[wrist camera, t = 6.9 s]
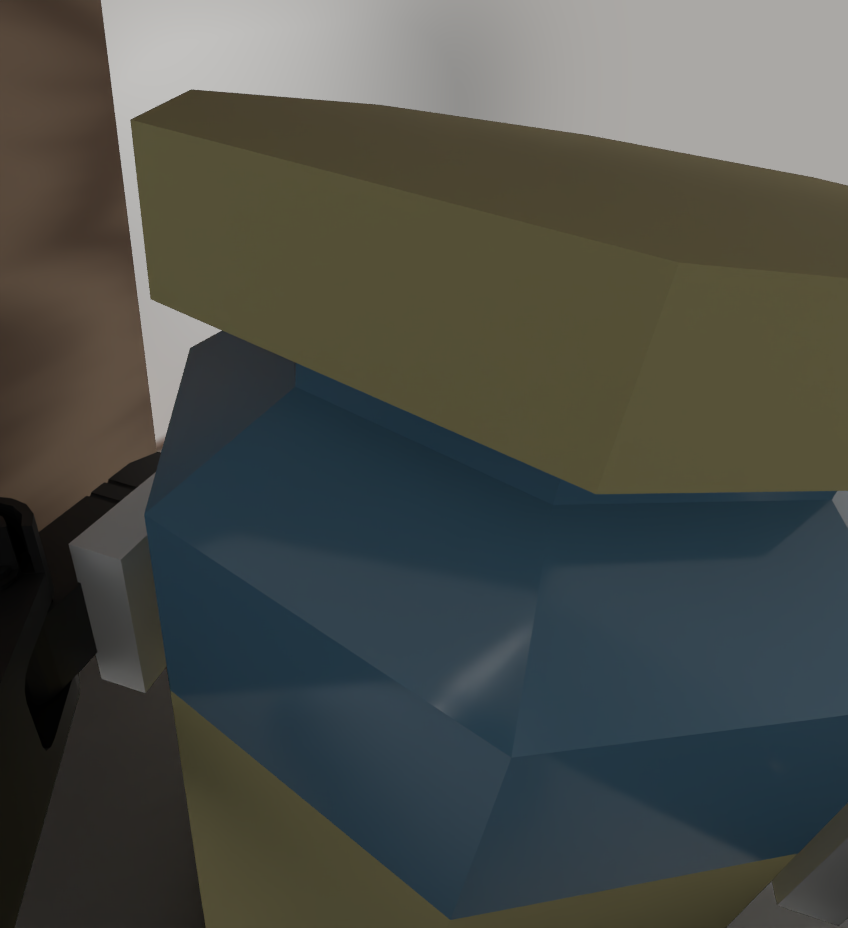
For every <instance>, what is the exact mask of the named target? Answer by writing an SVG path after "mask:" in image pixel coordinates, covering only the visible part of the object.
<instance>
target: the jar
mask: <svg viewBox="0 0 848 928" xmlns="http://www.w3.org/2000/svg"><path fill="white" fill-rule="evenodd" d="M131 128H132V138H133V147H134V156H135V164H136V173H137V182H138V191H139V199H140V208H141V217H142V226H143V234H144V244H145V253H146V261H147V270H148V279H149V288H150V297H151V299H152V300H154V301H156V302H158V303H161V304H163V305H165V306H168V307H170V308H172V309H175V310H177V311H179V312H182V313H184V314H186V315H188V316H190V317H193V318H195V319H197V320H200V321H202V322H204V323H206V324H209V325H211V326H213V327H216V328H218V329H220V330H222V331H221V332H219V333H217V334H215V335H213V336H211V337H210V338H208V339H206V340H205V341H202V342H200V343H199V344H197V345H195V346H193V347H191V348H190V351H189V354H188V358H187V362H186V365H185V369H184V373H183V376H182V380H181V383H180V387H179V390H178V394H177V398H176V401H175V405H174V408H173V412H172V416H171V419H170V423H169V427H168V430H167V434H166V437H165V441H164V444H163V448H162V452H161V455H160V459H159V462H158V466H157V470H156V473H155V477H154V480H153V484H152V488H151V491H150V495H149V498H148V502H147V506H146V509H145V513H144V517H145V524H146V531H147V537H148V544H149V551H150V558H151V564H152V571H153V578H154V584H155V591H156V598H157V605H158V611H159V618H160V625H161V632H162V638H163V645H164V652H165V658H166V665H167V672H168V679H169V685H170V692H171V699H172V706H173V712H174V719H175V726H176V732H177V739H178V746H179V753H180V759H181V766H182V773H183V780H184V786H185V793H186V800H187V806H188V813H189V820H190V827H191V833H192V840H193V847H194V854H195V860H196V867H197V874H198V880H199V887H200V894H201V901H202V907H203V914H204V921H205V928H726V927H727V926H728V925H729V924H730V923H731V922H732V921H733V920H734V919H735V918H736V917H737V916H738V915H739V914H740V913H741V912H742V911H743V909H744V908H745V907H746V906H747V905H748V904H749V903H750V902H751V901H752V900H753V899H754V898H755V897H756V896H757V895H758V894H759V893H760V892H761V891H762V890H763V889H764V888H765V887H766V886H767V885H768V884H769V883H770V882H771V881H772V880H773V879H774V878H775V877H776V876H777V875H778V874H779V873H780V872H781V871H782V870H783V869H784V868H785V866H786V865H787V864H788V863H789V862H790V861H791V860H792V859H793V858H794V857H795V856H796V855H797V854H798V853H799V852H800V851H801V850H802V849H803V848H804V847H805V846H806V845H807V844H808V843H809V842H810V841H811V840H812V839H813V838H814V837H815V836H816V835H817V834H818V833H819V832H820V831H821V830H822V829H823V828H824V827H825V826H826V824H827V823H828V822H829V821H830V820H831V819H832V818H833V817H834V816H835V815H836V814H837V813H838V812H839V811H840V810H841V809H842V808H843V807H844V806H845V805H846V804H847V803H848V186H847V185H843V184H839V183H834V182H830V181H826V180H822V179H818V178H813V177H808V176H803V175H797V174H792V173H786V172H781V171H776V170H771V169H765V168H760V167H755V166H749V165H744V164H739V163H733V162H728V161H723V160H717V159H712V158H706V157H701V156H695V155H690V154H685V153H679V152H674V151H669V150H663V149H658V148H653V147H648V146H642V145H637V144H632V143H626V142H621V141H616V140H610V139H605V138H600V137H594V136H589V135H583V134H576V133H569V132H562V131H555V130H548V129H542V128H535V127H528V126H521V125H513V124H507V123H501V122H493V121H487V120H480V119H473V118H466V117H459V116H453V115H445V114H439V113H431V112H425V111H418V110H411V109H405V108H398V107H391V106H383V105H375V104H374V105H373V104H361V103H350V102H337V101H324V100H313V99H300V98H288V97H276V96H264V95H251V94H239V93H226V92H214V91H202V90H189V91H187V92H185V93H183V94H181V95H179V96H177V97H175V98H173V99H171V100H169V101H167V102H165V103H163V104H161V105H159V106H157V107H155V108H153V109H151V110H149V111H147V112H145V113H143V114H141V115H139V116H137V117H135V118H133V119H131Z"/></svg>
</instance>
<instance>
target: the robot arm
mask: <svg viewBox="0 0 848 928" xmlns="http://www.w3.org/2000/svg"><path fill="white" fill-rule="evenodd" d="M160 455H161V453H160V452H156V453H153V454H151V455H148V456H146V457H143V458H141V459H138V460H136V461H133V462H131V463H129V464H127V465H126V466H125V467H124V468H122V469H121V470H120V471H118V472H117V473H116V474H114V475H113V476H112V477H110V478H109V479H108V482H107V483H105V482H104V483H103V484H101V485H100V486H99V487H97V488H96V489H95V490H93V491H92V492H91V495H90V496H85V497H84V498H83V499H81V500H80V501H79V502H78V503H76V504H75V505H74V506H72V507H71V508H70V509H68V510H67V511H66V512H64V513H63V514H62V515H60V516H59V517H58V518H56V519H55V520H54V521H53V522H51V523H50V524H49V525H47V526H46V527H45V528H43V529H42V530H41V531H38V528H37V524H36V521H35V517H34V514H33V512H32V511H31V510H30V508H29V507H28V506H27V504H25V503H22V502H20V501H18V500H15V499H13V498H5V497H0V928H14V927H15V924H16V920H17V916H18V913H19V909H20V906H21V902H22V898H23V895H24V891H25V888H26V884H27V880H28V877H29V873H30V870H31V866H32V862H33V859H34V855H35V852H36V848H37V844H38V841H39V837H40V834H41V830H42V827H43V823H44V819H45V816H46V812H47V809H48V805H49V801H50V798H51V794H52V791H53V787H54V783H55V780H56V776H57V773H58V769H59V765H60V762H61V758H62V755H63V751H64V748H65V744H66V740H67V737H68V733H69V730H70V726H71V722H72V719H73V715H74V712H75V708H76V704H77V701H78V697H79V693H80V680H79V676H78V673H79V672H80V670H81V669H82V668H83V667H84V666H85V665H86V664H87V663H88V662H89V661H90V660H91V659H92V657H93V656H94V655H95V654H96V658H97V662H98V666H99V670H100V674H101V679H104V680H107V681H110V682H113V683H116V684H119V685H122V686H125V687H128V688H131V689H134V690H137V691H140V692H143V693H146V692H147V691H148V690H149V688H150V687H151V686H152V685H153V683H154V682H155V681H156V679H157V678H158V677H159V676H160V674H161V673H162V672H163V670H164V669H165V668H166V667H167V665H166V658H165V652H164V645H163V638H162V632H161V625H160V618H159V611H158V605H157V598H156V591H155V584H154V578H153V571H152V564H151V558H150V551H149V544H148V537H147V531H146V524H145V517H144V513H145V509H146V506H147V502H148V498H149V495H150V491H151V488H152V484H153V480H154V477H155V473H156V470H157V466H158V462H159V459H160ZM772 883H773V888H774V893H775V898H776V902H777V905H778V906H781V907H784V908H787V909H790V910H793V911H796V912H799V913H802V914H804V915H807V916H810V917H813V918H816V919H819V920H822V921H825V922H828V923H831V924H834V925H837V926H839V925H840V924H842V923H843V922H844V921H845V920H846V919H848V803H847V804H846V805H845V806H844V807H843V808H842V809H841V810H840V811H839V812H838V813H837V814H836V815H835V816H834V817H833V818H832V819H831V820H830V821H829V822H828V823H827V824H826V826H825V827H824V828H823V829H822V830H821V831H820V832H819V833H818V834H817V835H816V836H815V837H814V838H813V839H812V840H811V841H810V842H809V843H808V844H807V845H806V846H805V847H804V848H803V849H802V850H801V851H800V852H799V853H798V854H797V855H796V856H795V857H794V858H793V859H792V860H791V861H790V862H789V863H788V864H787V865H786V866H785V868H784V869H783V870H782V871H781V872H780V873H779V874H778V875H777V876H776V877H775V878H774V879H773V880H772Z"/></svg>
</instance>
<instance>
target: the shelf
mask: <svg viewBox="0 0 848 928" xmlns="http://www.w3.org/2000/svg"><path fill="white" fill-rule="evenodd" d="M144 354H145V353H144V345H143V337H142V329H141V321H140V313H139V305H138V297H137V290H136V281H135V273H134V265H133V257H132V249H131V241H130V233H129V225H128V216H127V209H126V200H125V192H124V184H123V176H122V168H121V160H120V152H119V145H118V136H117V128H116V120H115V113H114V104H113V96H112V88H111V80H110V71H109V63H108V55H107V48H106V40H105V32H104V23H103V16H102V7H101V0H0V497H5V498H13V499H15V500H18V501H20V502H22V503H25V504H27V506H28V507H29V508H30V510H31V511H32V512H33V514H34V517H35V521H36V524H37V528H38V531H41V530H42V529H43V528H45V527H46V526H47V525H49V524H50V523H51V522H53V521H54V520H55V519H56V518H58V517H59V516H60V515H62V514H63V513H64V512H66V511H67V510H68V509H70V508H71V507H72V506H74V505H75V504H76V503H78V502H79V501H80V500H81V499H83V498H84V497H85V496H90V495H91V492H92V491H93V490H95V489H96V488H97V487H99V486H100V485H101V484H103V483H104V482H105V483H107V482H108V479H109V478H110V477H112V476H113V475H114V474H116V473H117V472H118V471H120V470H121V469H122V468H124V467H125V466H126V465H127V464H129V463H131V462H133V461H136V460H138V459H141V458H143V457H146V456H148V455H151V454H153V453H156V452H157V450H156V442H155V434H154V426H153V418H152V410H151V403H150V394H149V386H148V377H147V369H146V363H145V362H146V361H145V355H144Z"/></svg>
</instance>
